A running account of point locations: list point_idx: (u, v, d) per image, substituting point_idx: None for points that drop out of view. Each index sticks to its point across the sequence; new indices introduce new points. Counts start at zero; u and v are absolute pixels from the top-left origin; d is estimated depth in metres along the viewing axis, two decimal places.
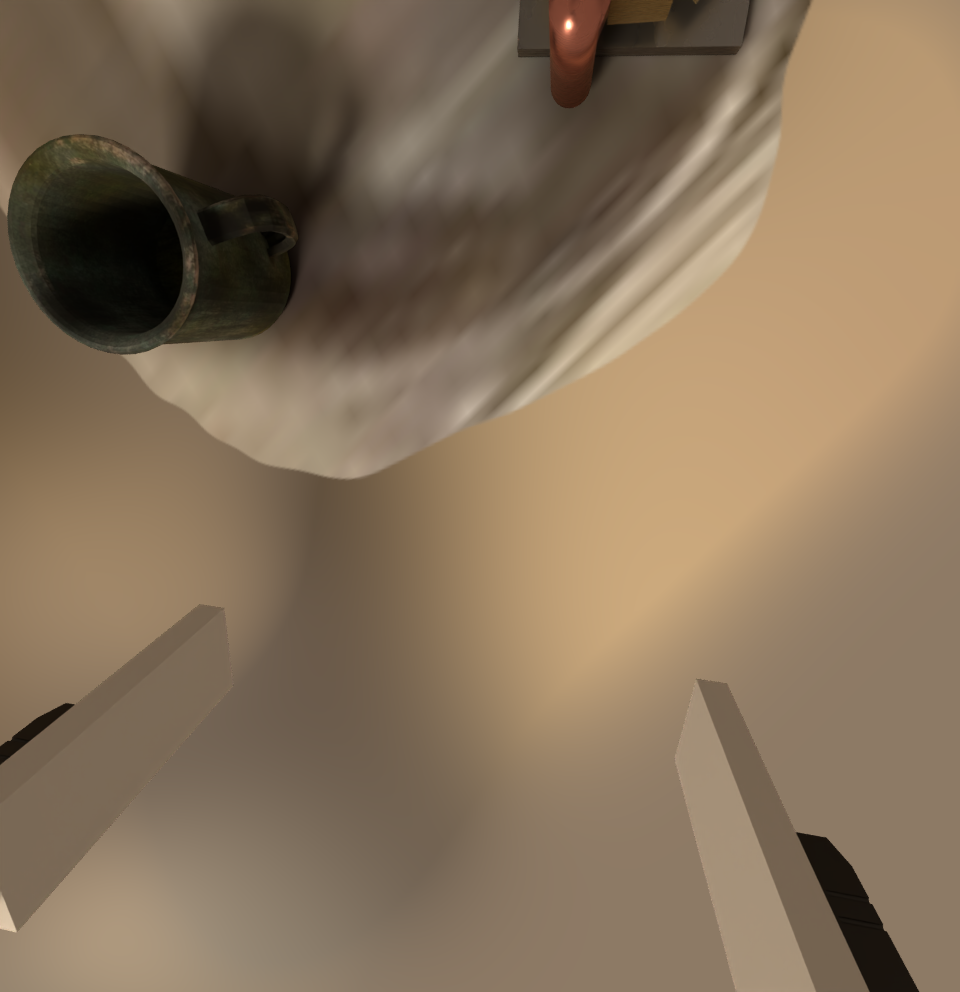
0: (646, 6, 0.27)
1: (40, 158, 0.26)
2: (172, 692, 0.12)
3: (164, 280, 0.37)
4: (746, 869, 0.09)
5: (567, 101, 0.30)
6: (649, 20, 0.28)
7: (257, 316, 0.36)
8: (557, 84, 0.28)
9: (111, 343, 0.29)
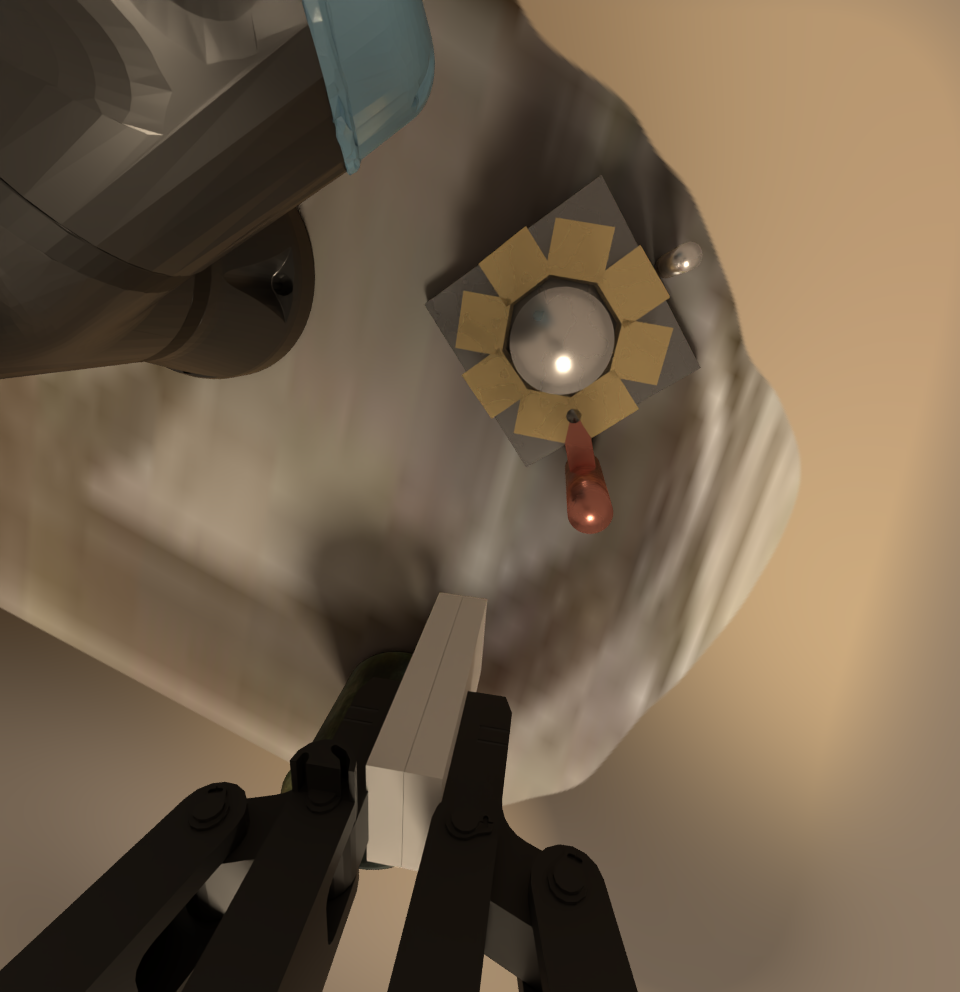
0: None
1: (290, 782, 0.35)
2: None
3: None
4: None
5: None
6: None
7: None
8: None
9: None
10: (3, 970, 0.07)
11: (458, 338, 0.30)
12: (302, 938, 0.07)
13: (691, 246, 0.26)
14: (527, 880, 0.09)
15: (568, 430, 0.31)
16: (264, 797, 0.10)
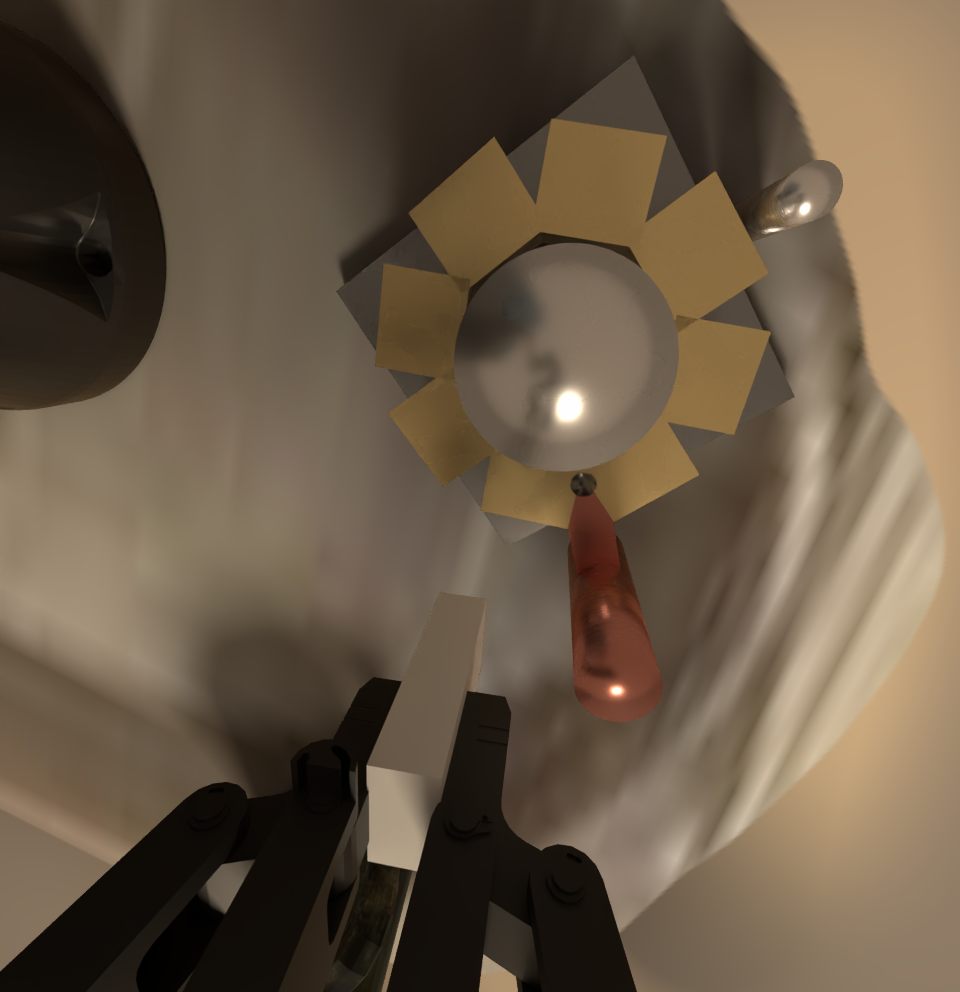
0: None
1: None
2: None
3: None
4: None
5: None
6: None
7: (400, 916, 0.29)
8: None
9: None
10: (4, 971, 0.07)
11: (379, 349, 0.17)
12: (303, 938, 0.07)
13: (821, 170, 0.13)
14: (526, 880, 0.09)
15: (574, 508, 0.18)
16: (264, 797, 0.10)
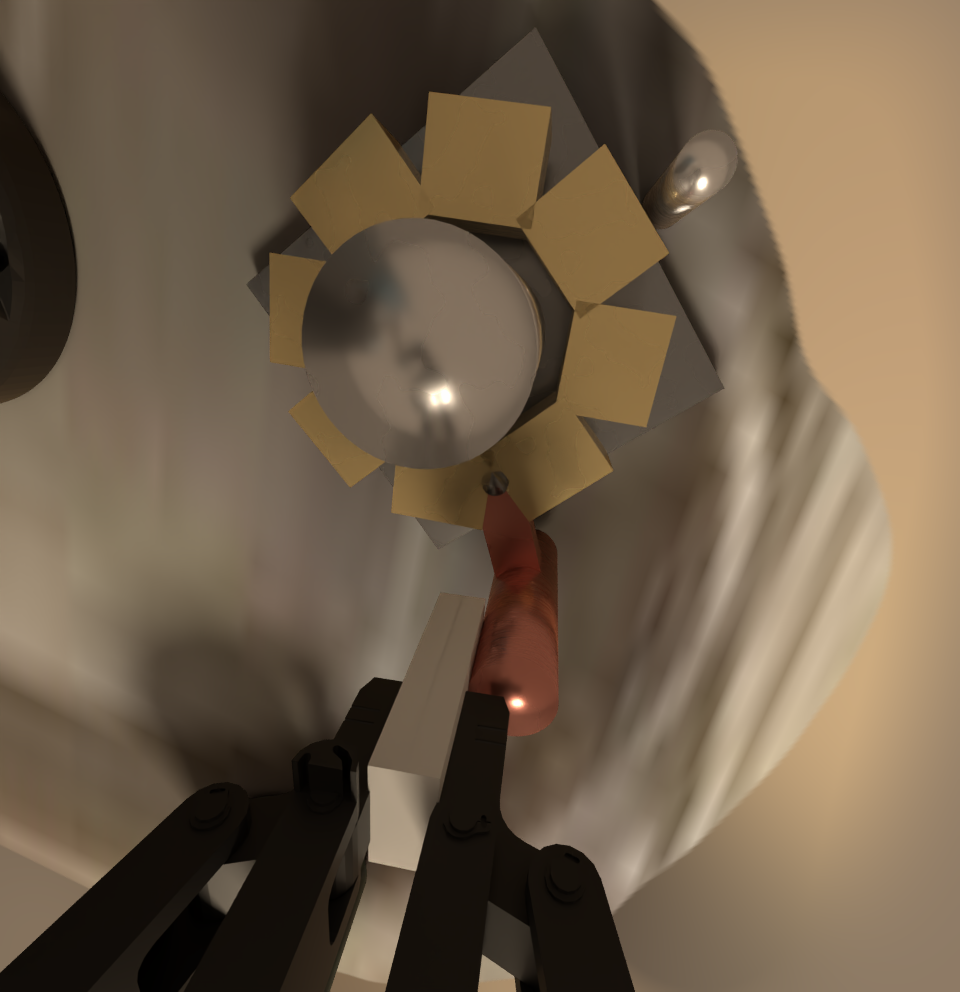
0: None
1: None
2: None
3: None
4: None
5: None
6: None
7: (348, 931, 0.28)
8: None
9: None
10: (5, 971, 0.07)
11: (273, 344, 0.16)
12: (304, 938, 0.07)
13: (713, 140, 0.12)
14: (524, 880, 0.09)
15: (487, 508, 0.17)
16: (266, 797, 0.10)
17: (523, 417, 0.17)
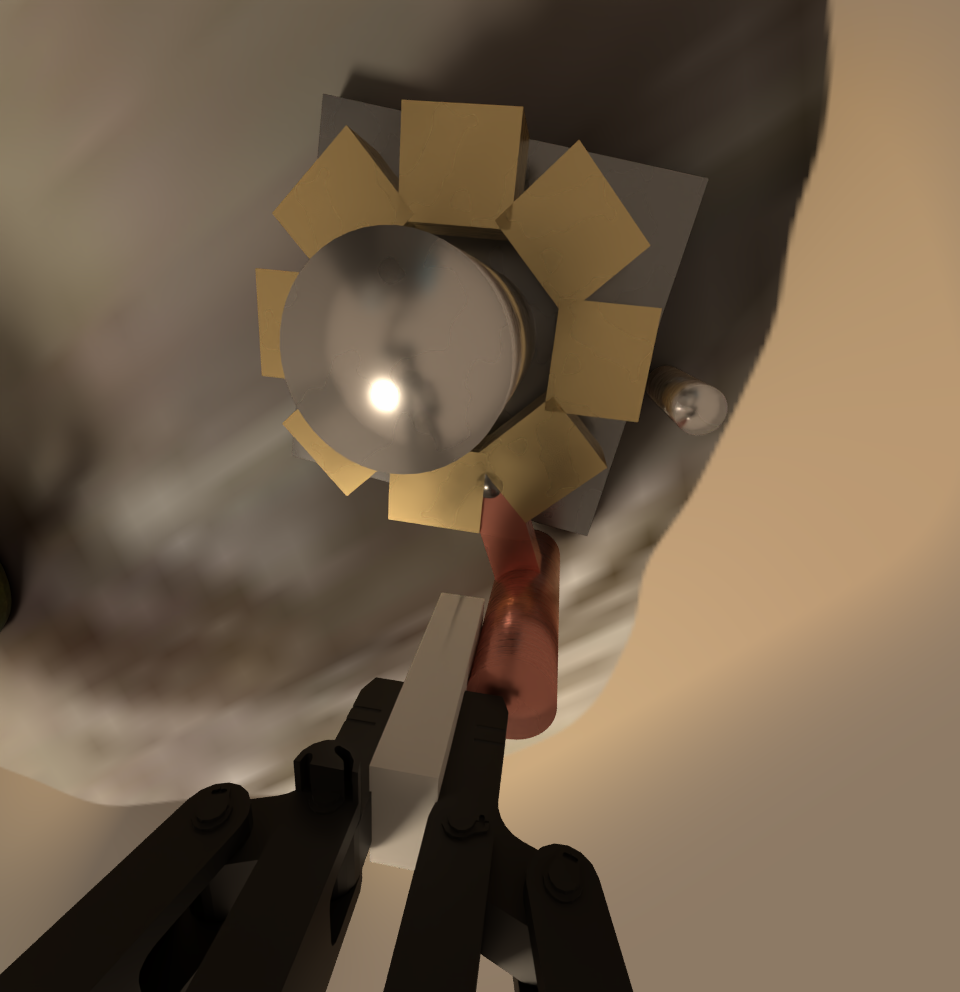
0: None
1: None
2: None
3: None
4: None
5: None
6: None
7: None
8: None
9: None
10: (6, 972, 0.07)
11: (263, 358, 0.16)
12: (306, 939, 0.07)
13: (717, 401, 0.14)
14: (522, 880, 0.09)
15: (483, 510, 0.17)
16: (267, 798, 0.10)
17: (515, 418, 0.17)
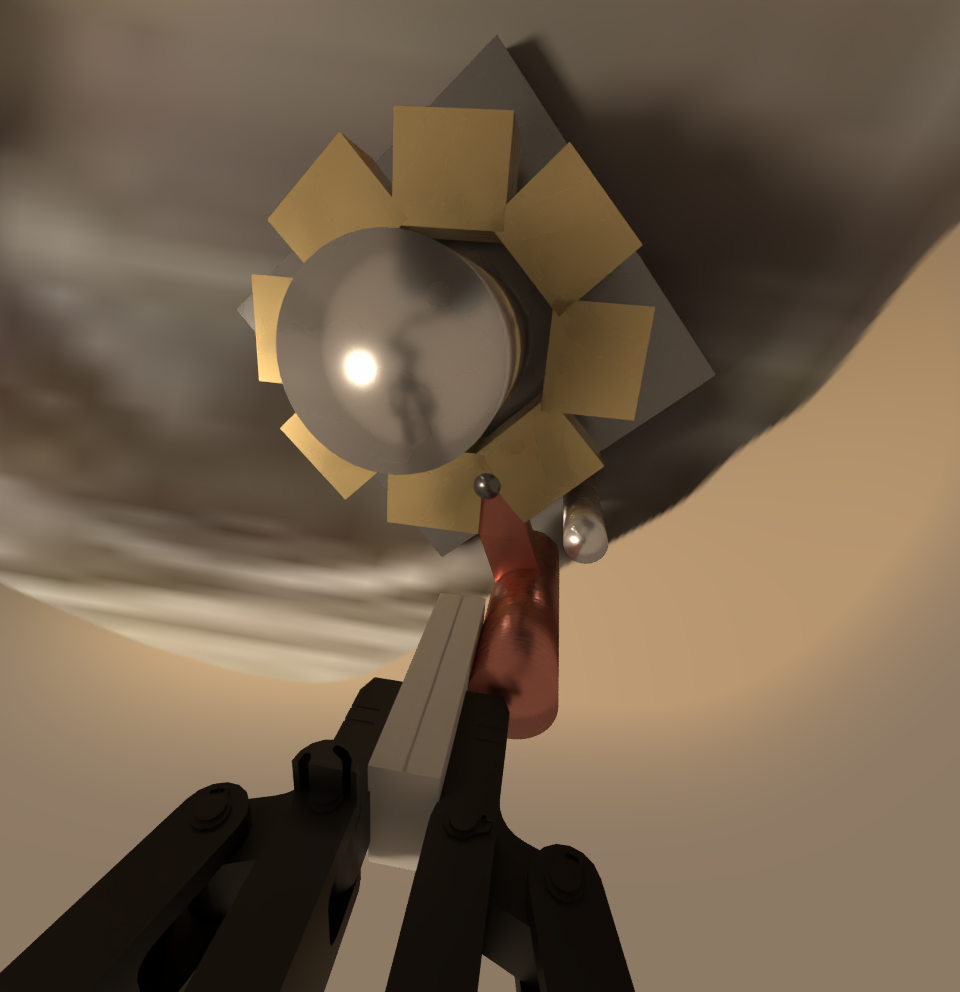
0: None
1: None
2: None
3: None
4: None
5: None
6: None
7: None
8: None
9: None
10: (4, 972, 0.07)
11: (260, 363, 0.16)
12: (304, 939, 0.07)
13: (600, 546, 0.16)
14: (524, 880, 0.09)
15: (481, 511, 0.17)
16: (265, 797, 0.10)
17: (512, 419, 0.17)
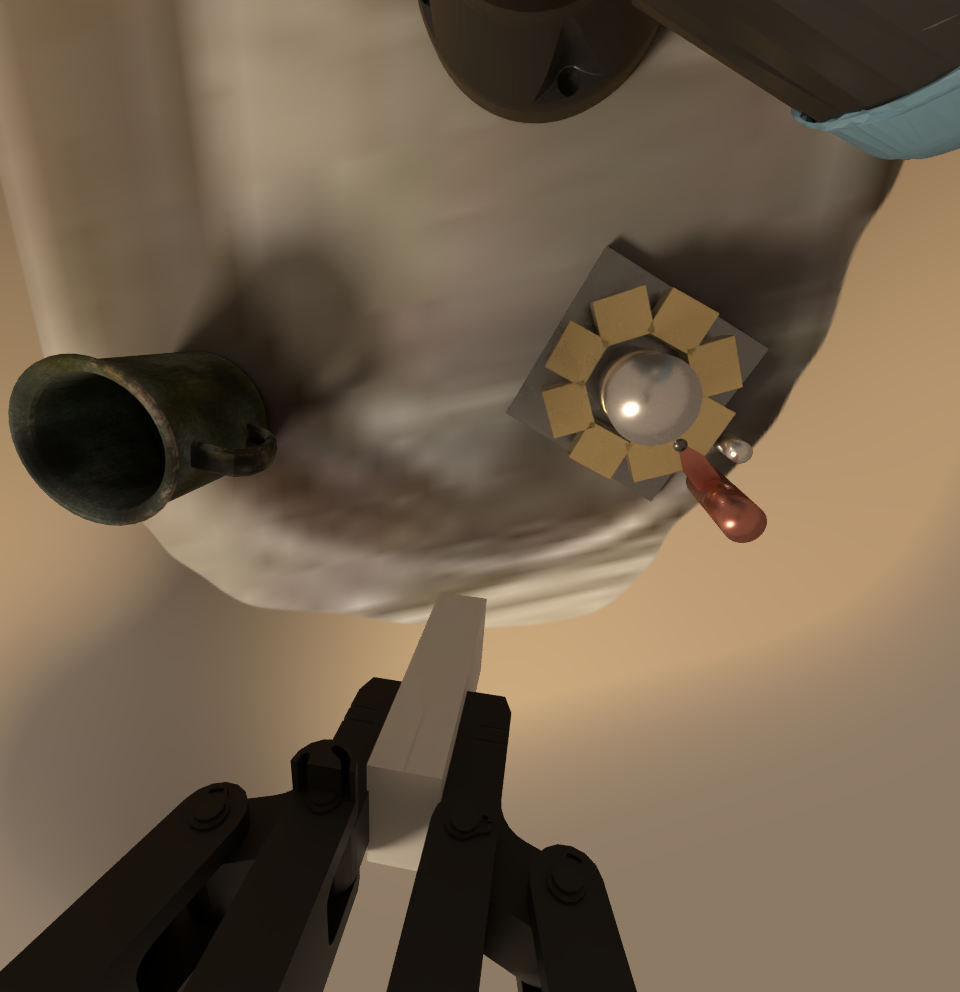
0: None
1: (70, 362, 0.29)
2: None
3: None
4: None
5: None
6: None
7: None
8: None
9: (69, 503, 0.33)
10: (3, 971, 0.07)
11: (553, 430, 0.34)
12: (303, 938, 0.07)
13: (748, 451, 0.32)
14: (526, 880, 0.09)
15: (681, 458, 0.33)
16: (265, 797, 0.10)
17: None
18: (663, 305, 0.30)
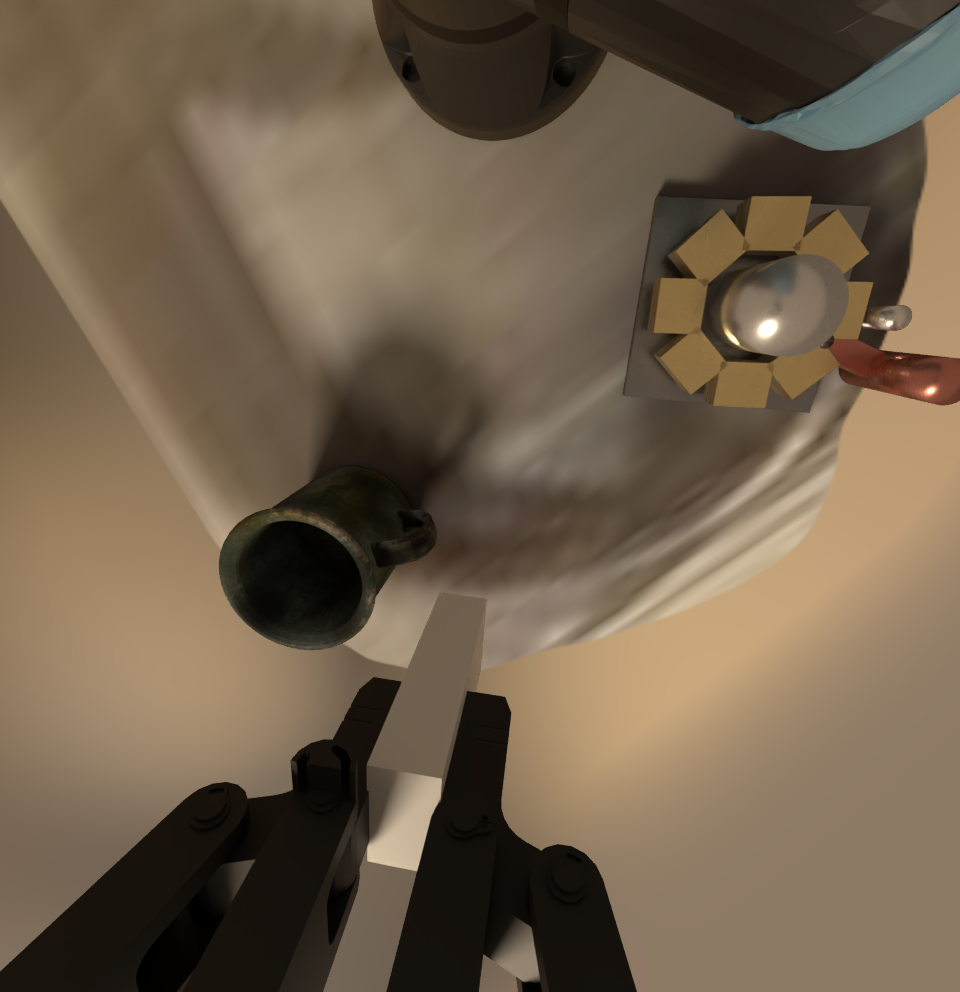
0: None
1: (256, 521, 0.33)
2: None
3: (305, 531, 0.44)
4: None
5: None
6: None
7: None
8: None
9: (293, 641, 0.36)
10: (4, 971, 0.07)
11: (687, 387, 0.33)
12: (303, 938, 0.07)
13: (906, 312, 0.29)
14: (526, 880, 0.09)
15: (832, 353, 0.31)
16: (265, 797, 0.10)
17: None
18: (749, 218, 0.29)
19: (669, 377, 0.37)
